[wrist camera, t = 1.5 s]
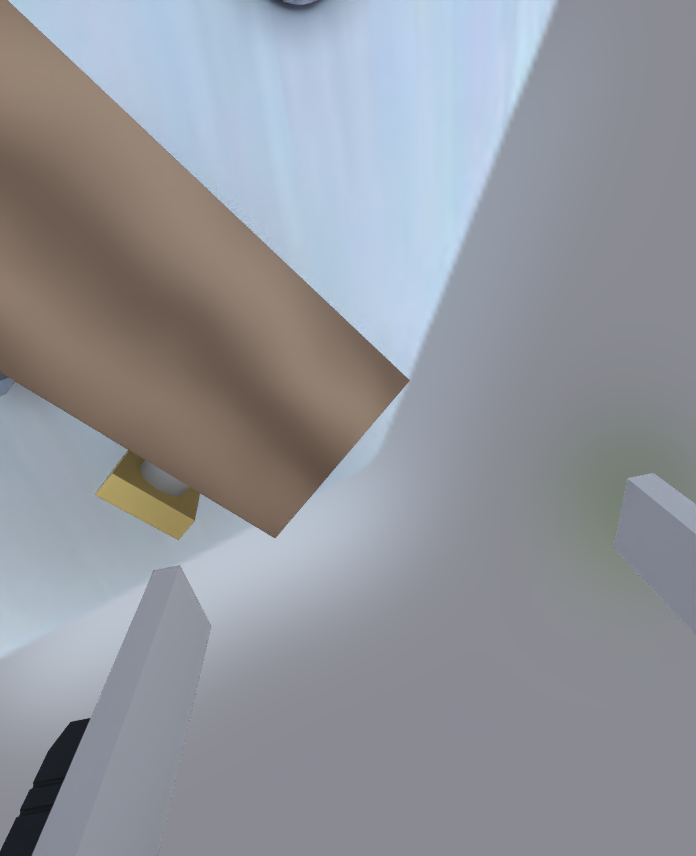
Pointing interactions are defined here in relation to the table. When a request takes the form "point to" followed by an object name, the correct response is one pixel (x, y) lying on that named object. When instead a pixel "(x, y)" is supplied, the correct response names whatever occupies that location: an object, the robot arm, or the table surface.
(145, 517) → the ochre button
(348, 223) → the table surface
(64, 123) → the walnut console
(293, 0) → the soda can
